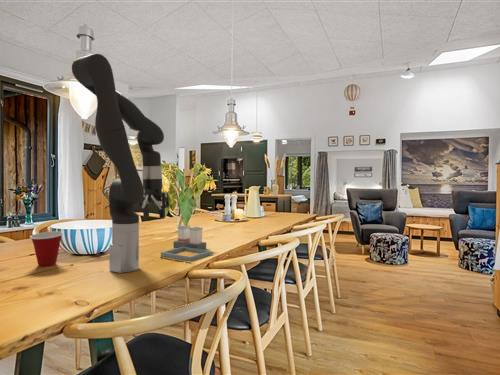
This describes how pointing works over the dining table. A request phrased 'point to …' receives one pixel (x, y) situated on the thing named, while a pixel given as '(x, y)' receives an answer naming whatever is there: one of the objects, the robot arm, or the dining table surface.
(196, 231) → the block
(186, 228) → the block
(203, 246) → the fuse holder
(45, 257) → the plastic cup
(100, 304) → the dining table surface
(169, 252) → the tray
